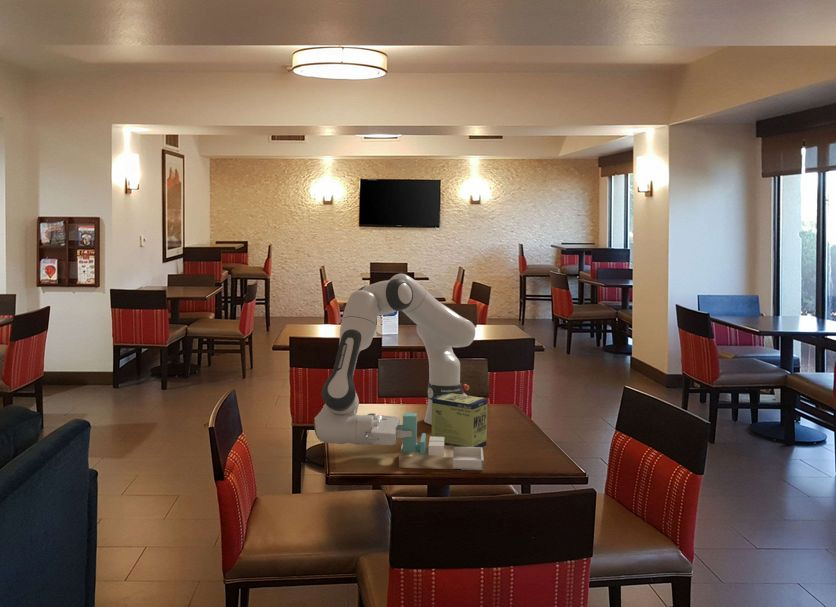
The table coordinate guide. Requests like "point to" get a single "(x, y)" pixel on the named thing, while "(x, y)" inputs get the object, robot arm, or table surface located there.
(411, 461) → the board
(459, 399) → the protein box
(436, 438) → the tile
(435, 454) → the white small block
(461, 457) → the tray
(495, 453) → the table surface
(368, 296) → the robot arm
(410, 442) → the teal uneven u-shaped block
